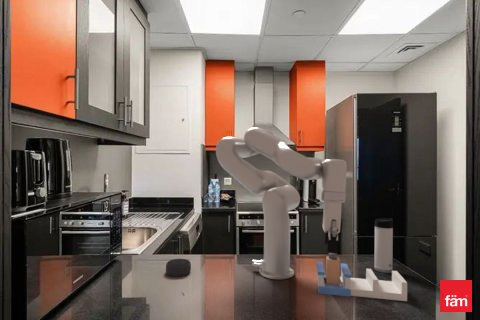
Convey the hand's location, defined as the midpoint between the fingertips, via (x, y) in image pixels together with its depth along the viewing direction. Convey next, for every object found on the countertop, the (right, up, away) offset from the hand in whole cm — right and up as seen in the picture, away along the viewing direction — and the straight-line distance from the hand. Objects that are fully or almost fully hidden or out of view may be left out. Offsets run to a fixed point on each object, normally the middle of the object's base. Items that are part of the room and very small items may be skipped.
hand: (331, 248), depth 98 cm
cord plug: (0, -12, -1) cm, 12 cm away
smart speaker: (-53, -12, +10) cm, 55 cm away
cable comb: (+8, -13, -2) cm, 15 cm away
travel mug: (+25, -14, +17) cm, 33 cm away
